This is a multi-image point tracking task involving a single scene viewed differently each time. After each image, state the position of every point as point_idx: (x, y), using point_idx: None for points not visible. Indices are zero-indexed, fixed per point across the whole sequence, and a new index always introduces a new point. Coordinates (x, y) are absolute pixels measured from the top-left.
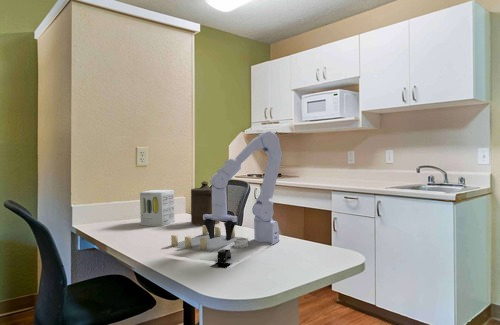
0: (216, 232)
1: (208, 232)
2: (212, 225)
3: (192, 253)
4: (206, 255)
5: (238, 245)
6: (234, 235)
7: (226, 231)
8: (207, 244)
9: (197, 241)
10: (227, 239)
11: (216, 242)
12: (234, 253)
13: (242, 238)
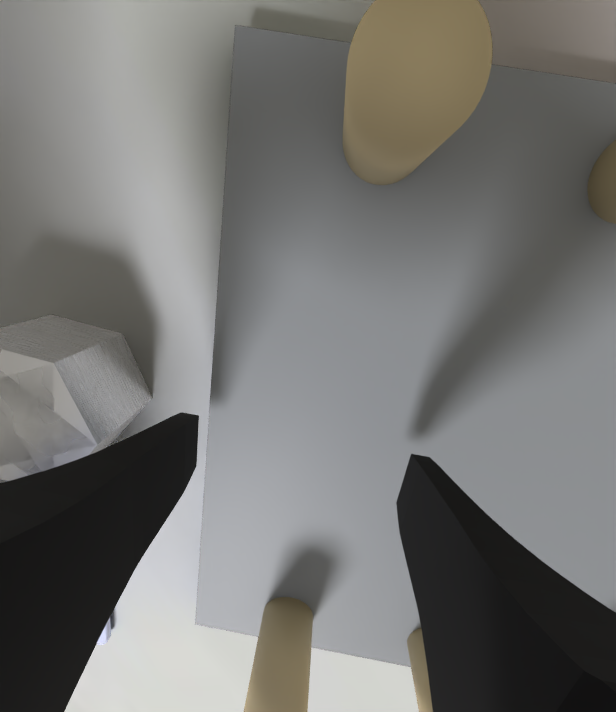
0: None
1: (474, 505)
2: (458, 668)
3: (504, 49)
4: (288, 12)
5: (37, 332)
6: (259, 633)
7: (112, 466)
8: (424, 370)
9: (584, 462)
10: (176, 416)
11: (358, 458)
12: (45, 200)
13: (27, 464)
